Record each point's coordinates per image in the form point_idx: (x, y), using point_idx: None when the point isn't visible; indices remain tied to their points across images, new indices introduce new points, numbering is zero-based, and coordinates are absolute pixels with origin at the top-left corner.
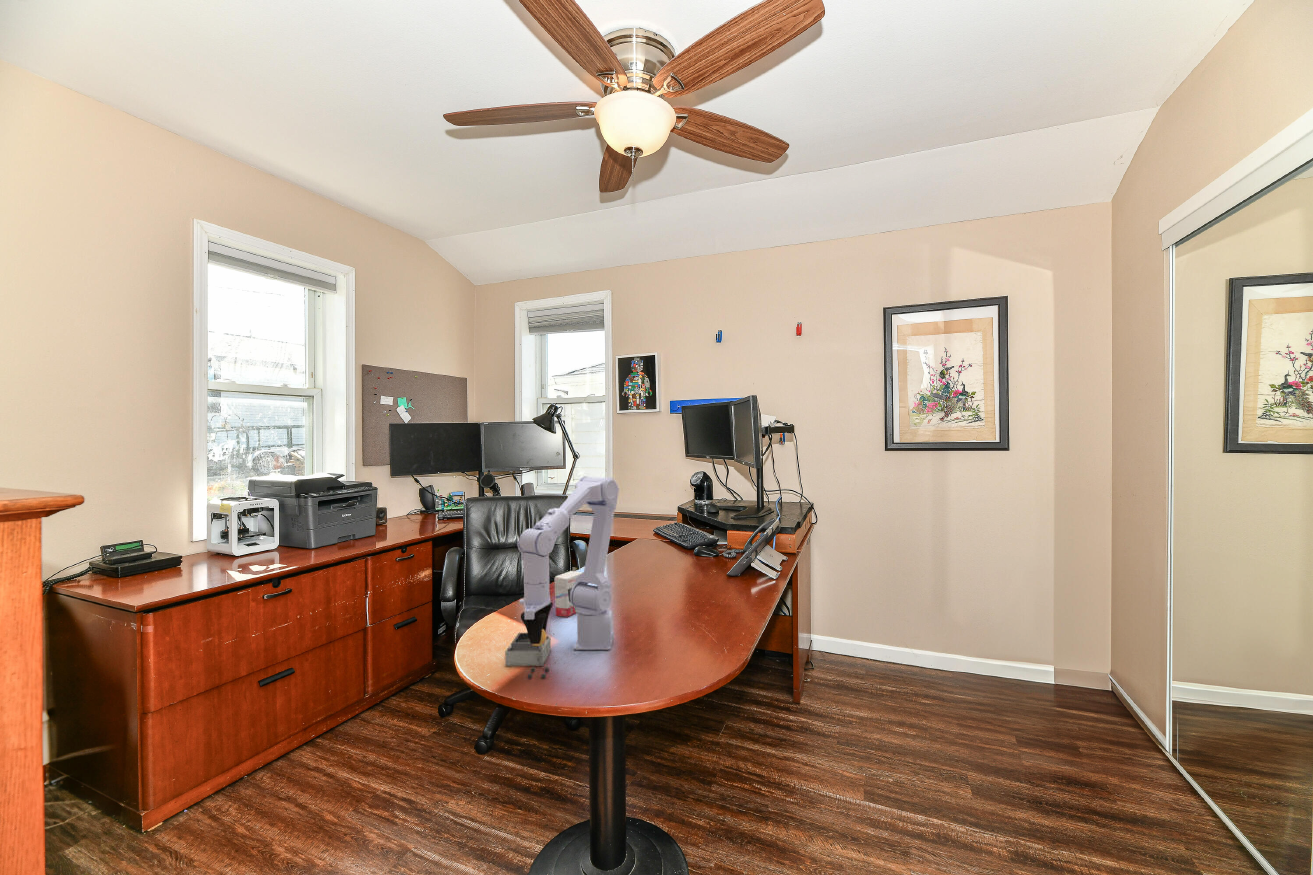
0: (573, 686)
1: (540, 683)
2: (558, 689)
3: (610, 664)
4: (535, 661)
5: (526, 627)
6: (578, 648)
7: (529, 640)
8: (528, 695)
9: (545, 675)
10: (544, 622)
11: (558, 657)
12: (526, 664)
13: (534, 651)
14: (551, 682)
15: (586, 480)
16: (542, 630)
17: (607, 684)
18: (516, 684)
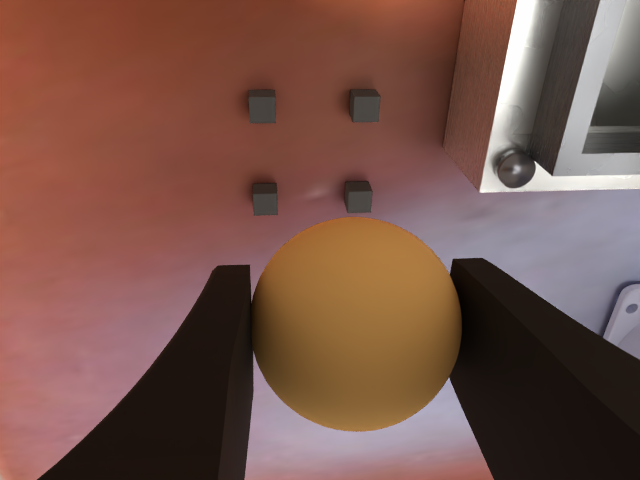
0: None
1: (187, 192)
2: (126, 303)
3: (406, 454)
4: (461, 106)
5: (104, 422)
6: (618, 312)
7: (305, 232)
8: (14, 157)
9: (270, 210)
10: (503, 462)
11: (548, 217)
12: (463, 28)
13: (490, 127)
14: (206, 251)
15: None
16: (351, 428)
17: None
18: (154, 27)
